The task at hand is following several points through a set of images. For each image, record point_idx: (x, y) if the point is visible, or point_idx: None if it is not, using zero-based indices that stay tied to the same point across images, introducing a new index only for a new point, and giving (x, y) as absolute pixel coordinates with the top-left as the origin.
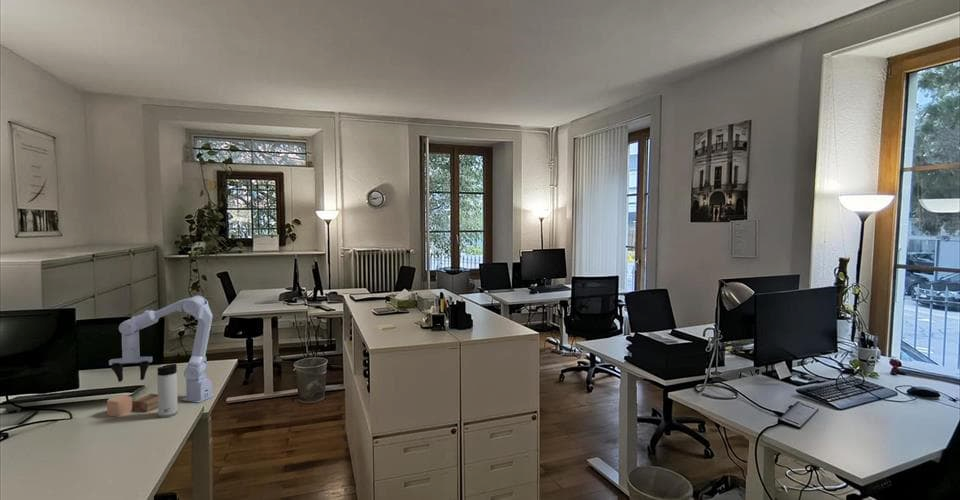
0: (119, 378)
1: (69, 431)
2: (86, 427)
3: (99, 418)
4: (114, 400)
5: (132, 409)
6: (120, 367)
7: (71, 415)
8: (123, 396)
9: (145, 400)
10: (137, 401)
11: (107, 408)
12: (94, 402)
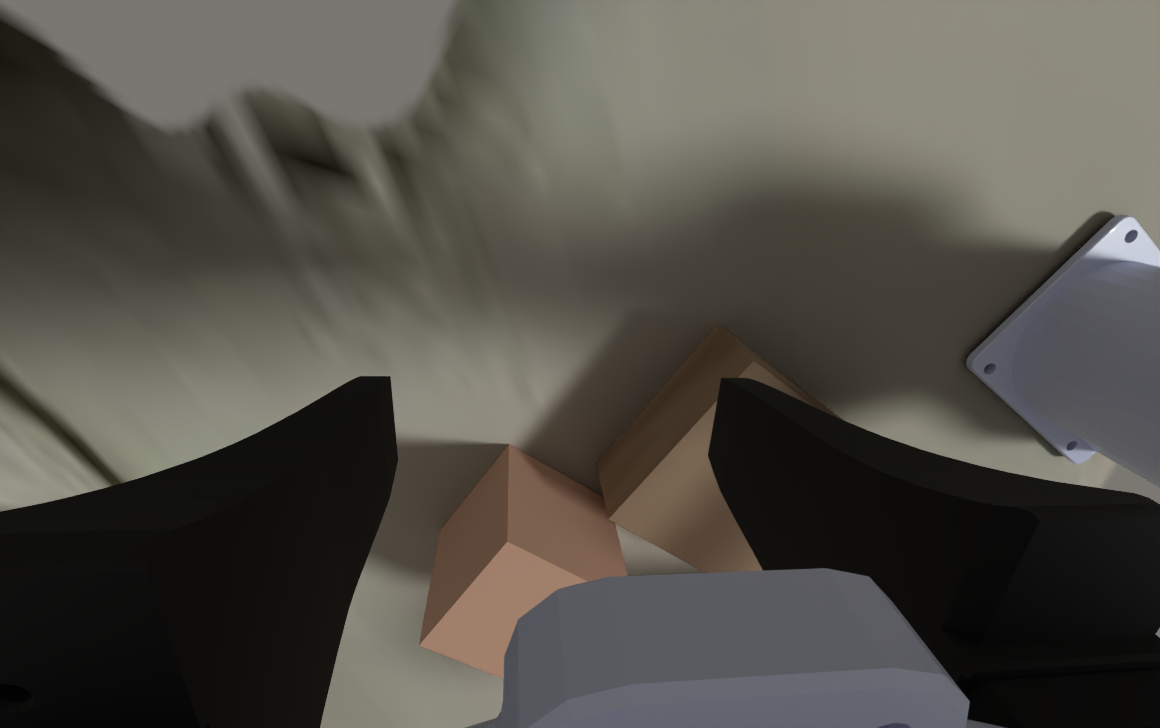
0: (374, 518)
1: (325, 722)
2: (403, 690)
3: (410, 577)
4: (499, 660)
5: (600, 467)
6: (281, 674)
7: (105, 471)
8: (544, 580)
9: (731, 541)
10: (667, 551)
11: (434, 576)
12: (65, 129)
